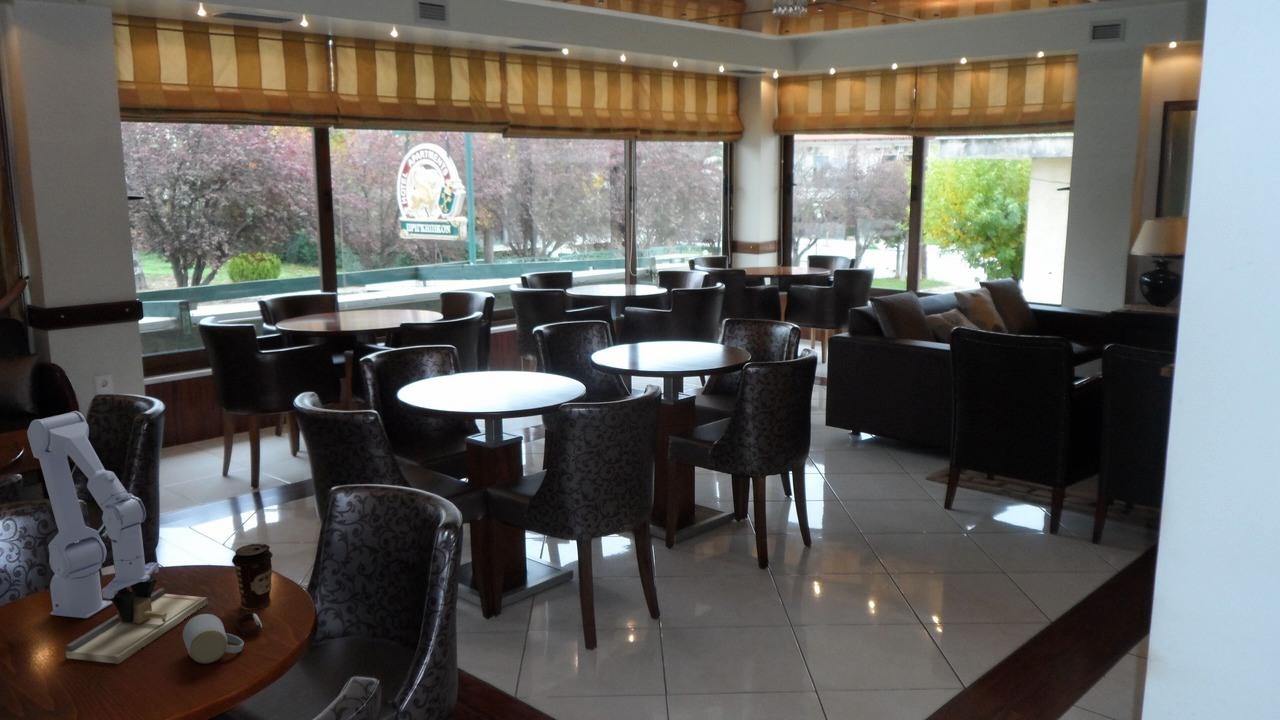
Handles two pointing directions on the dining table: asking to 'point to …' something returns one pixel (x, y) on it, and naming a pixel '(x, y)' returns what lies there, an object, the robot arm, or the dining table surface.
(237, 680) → the dining table surface
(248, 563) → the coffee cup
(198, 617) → the ceramic mug
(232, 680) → the dining table surface
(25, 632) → the dining table surface
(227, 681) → the dining table surface
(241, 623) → the watch
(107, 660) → the cream flat tray
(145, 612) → the marking gauge
